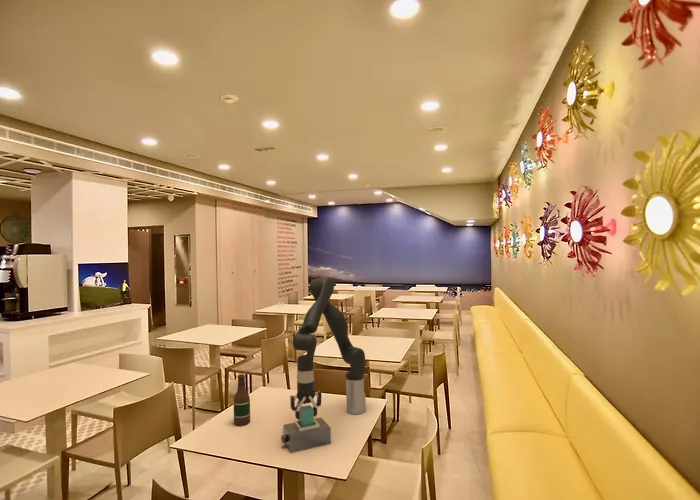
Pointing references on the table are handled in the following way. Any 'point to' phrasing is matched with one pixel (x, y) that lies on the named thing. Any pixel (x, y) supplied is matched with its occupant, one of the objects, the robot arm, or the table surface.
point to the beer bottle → (241, 403)
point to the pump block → (306, 416)
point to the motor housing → (306, 435)
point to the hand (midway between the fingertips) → (306, 417)
